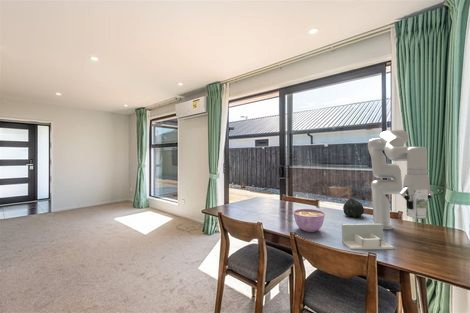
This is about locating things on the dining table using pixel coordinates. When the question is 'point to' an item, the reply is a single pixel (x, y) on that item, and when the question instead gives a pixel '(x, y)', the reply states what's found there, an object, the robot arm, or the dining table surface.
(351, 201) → the squash
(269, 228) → the dining table surface
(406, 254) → the dining table surface
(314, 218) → the bowl of food
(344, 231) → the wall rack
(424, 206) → the syrup box
